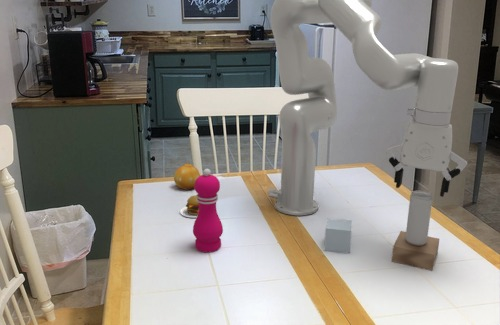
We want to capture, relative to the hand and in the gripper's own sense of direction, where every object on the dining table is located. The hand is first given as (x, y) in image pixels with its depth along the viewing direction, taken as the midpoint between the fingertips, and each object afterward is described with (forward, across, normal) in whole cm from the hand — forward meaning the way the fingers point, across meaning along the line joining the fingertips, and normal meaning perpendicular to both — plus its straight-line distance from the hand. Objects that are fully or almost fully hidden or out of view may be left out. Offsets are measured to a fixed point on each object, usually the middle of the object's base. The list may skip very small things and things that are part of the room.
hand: (420, 190), depth 116 cm
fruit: (+20, -72, +14) cm, 76 cm away
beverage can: (+13, +1, 0) cm, 13 cm away
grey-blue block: (+17, -17, -4) cm, 24 cm away
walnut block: (+17, +1, 0) cm, 17 cm away
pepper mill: (+18, -45, -18) cm, 52 cm away
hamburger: (+20, -59, -2) cm, 62 cm away
